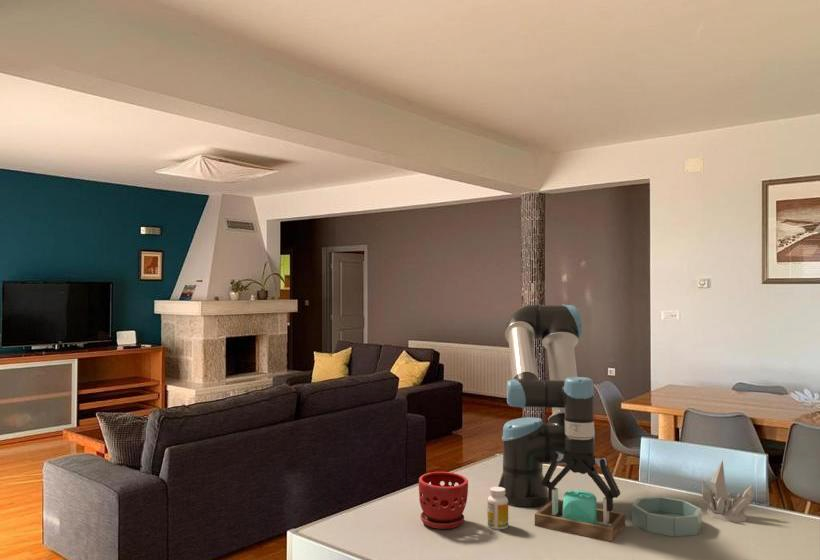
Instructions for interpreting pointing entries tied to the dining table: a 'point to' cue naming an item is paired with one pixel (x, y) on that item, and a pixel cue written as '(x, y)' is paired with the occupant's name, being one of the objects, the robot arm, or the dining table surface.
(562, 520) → the rectangular frame
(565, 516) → the decorative dice
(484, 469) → the dining table surface
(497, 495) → the supplement bottle
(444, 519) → the plant pot
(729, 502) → the crystal
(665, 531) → the bowl
